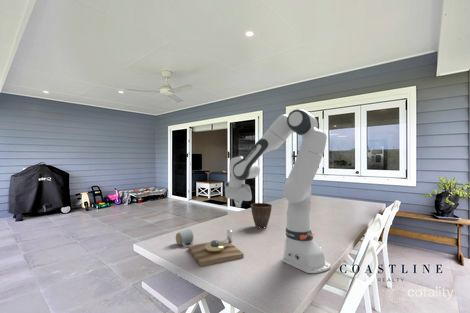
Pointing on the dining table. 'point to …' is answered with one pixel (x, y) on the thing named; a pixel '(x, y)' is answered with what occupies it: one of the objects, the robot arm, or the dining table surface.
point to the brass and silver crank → (218, 244)
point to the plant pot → (261, 214)
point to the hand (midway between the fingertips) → (238, 207)
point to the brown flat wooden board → (214, 254)
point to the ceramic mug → (184, 238)
